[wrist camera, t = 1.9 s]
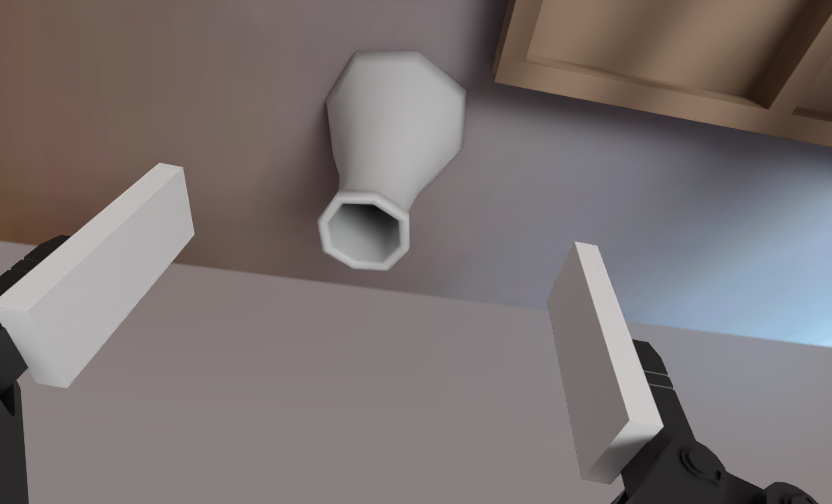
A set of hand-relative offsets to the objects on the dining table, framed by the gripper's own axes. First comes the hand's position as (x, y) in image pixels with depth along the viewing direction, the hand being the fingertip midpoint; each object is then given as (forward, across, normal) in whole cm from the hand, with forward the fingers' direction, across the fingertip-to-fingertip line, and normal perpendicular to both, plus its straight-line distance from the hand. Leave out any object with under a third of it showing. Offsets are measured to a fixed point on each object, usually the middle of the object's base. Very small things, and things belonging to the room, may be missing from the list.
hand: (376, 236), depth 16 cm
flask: (+10, -1, 0) cm, 10 cm away
